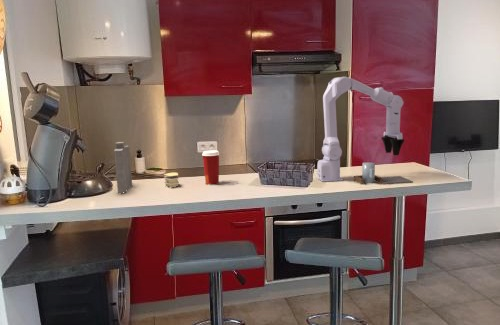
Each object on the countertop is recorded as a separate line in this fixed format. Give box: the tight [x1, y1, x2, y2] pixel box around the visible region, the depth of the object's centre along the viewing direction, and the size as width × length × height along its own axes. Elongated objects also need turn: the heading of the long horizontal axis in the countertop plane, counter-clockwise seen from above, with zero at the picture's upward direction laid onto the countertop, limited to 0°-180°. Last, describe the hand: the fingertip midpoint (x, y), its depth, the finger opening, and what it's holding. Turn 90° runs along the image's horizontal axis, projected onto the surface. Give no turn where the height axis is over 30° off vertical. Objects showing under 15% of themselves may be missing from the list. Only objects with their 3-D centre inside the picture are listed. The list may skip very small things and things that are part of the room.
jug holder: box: [353, 174, 383, 185], centre depth 171 cm, size 9×8×2 cm
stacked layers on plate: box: [163, 172, 179, 188], centre depth 174 cm, size 10×9×6 cm
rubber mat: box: [379, 175, 414, 185], centre depth 172 cm, size 11×11×1 cm
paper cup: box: [201, 150, 220, 185], centre depth 177 cm, size 8×8×14 cm
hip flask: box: [113, 141, 133, 194], centre depth 170 cm, size 16×4×20 cm, turn 5°
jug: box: [361, 161, 376, 184], centre depth 169 cm, size 5×7×8 cm
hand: (392, 153), depth 180 cm, fingers open, 7 cm apart
